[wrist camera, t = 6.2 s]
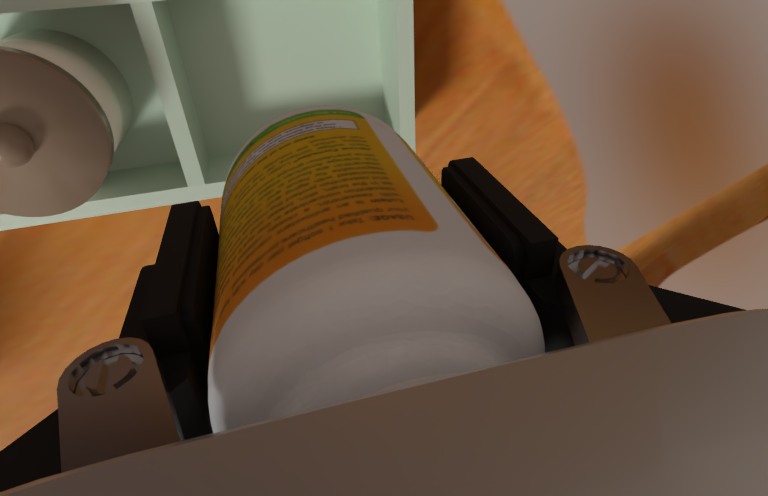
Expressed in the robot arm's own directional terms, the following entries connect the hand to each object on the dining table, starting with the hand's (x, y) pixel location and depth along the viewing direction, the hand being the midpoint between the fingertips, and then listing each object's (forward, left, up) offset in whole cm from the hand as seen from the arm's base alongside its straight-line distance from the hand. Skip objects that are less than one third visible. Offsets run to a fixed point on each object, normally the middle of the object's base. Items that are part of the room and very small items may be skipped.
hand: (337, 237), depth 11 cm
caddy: (+5, 0, -17) cm, 18 cm away
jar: (+11, 0, -16) cm, 20 cm away
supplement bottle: (0, 0, -2) cm, 2 cm away
